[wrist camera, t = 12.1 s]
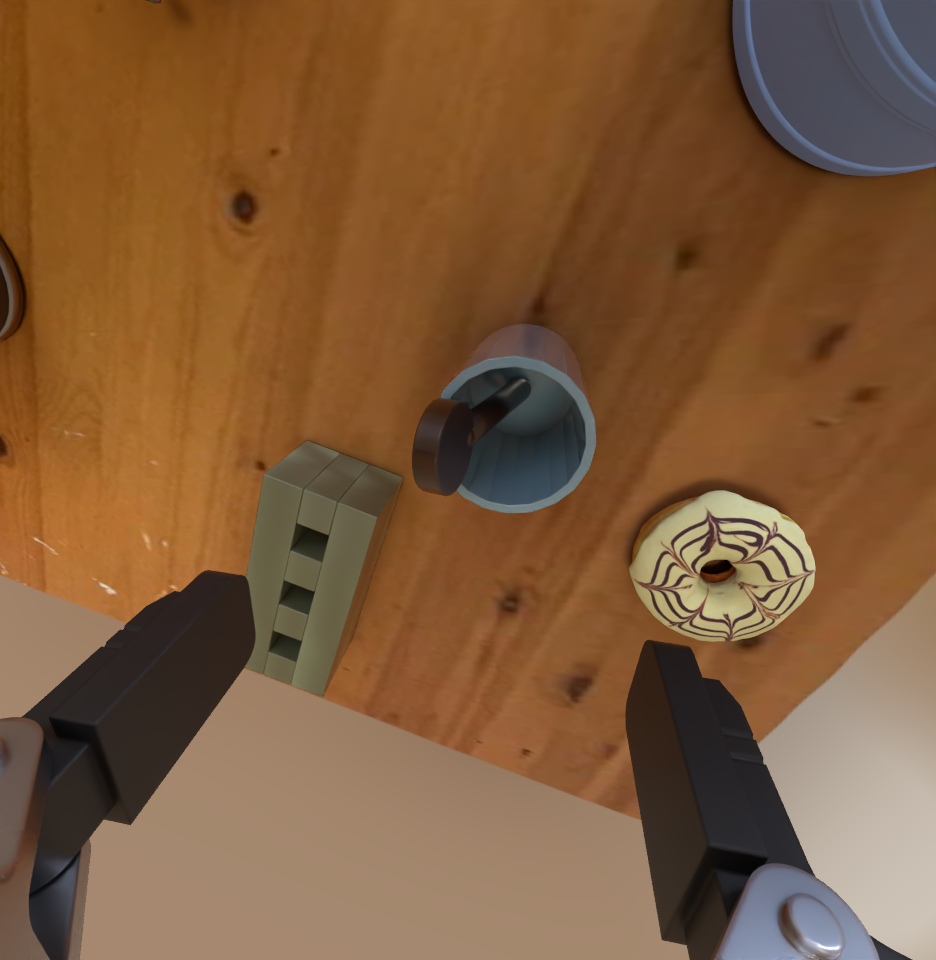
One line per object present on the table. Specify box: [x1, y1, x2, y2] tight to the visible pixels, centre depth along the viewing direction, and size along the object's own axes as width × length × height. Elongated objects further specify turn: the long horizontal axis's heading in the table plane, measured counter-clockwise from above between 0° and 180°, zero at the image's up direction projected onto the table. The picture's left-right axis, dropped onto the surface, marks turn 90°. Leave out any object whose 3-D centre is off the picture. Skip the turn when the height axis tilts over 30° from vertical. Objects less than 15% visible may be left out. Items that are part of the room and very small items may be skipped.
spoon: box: [412, 378, 531, 496], centre depth 25 cm, size 4×1×14 cm, turn 178°
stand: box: [244, 441, 403, 697], centre depth 36 cm, size 7×17×6 cm, turn 161°
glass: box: [440, 324, 596, 513], centre depth 27 cm, size 7×7×10 cm
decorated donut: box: [629, 490, 816, 642], centre depth 32 cm, size 10×11×4 cm
